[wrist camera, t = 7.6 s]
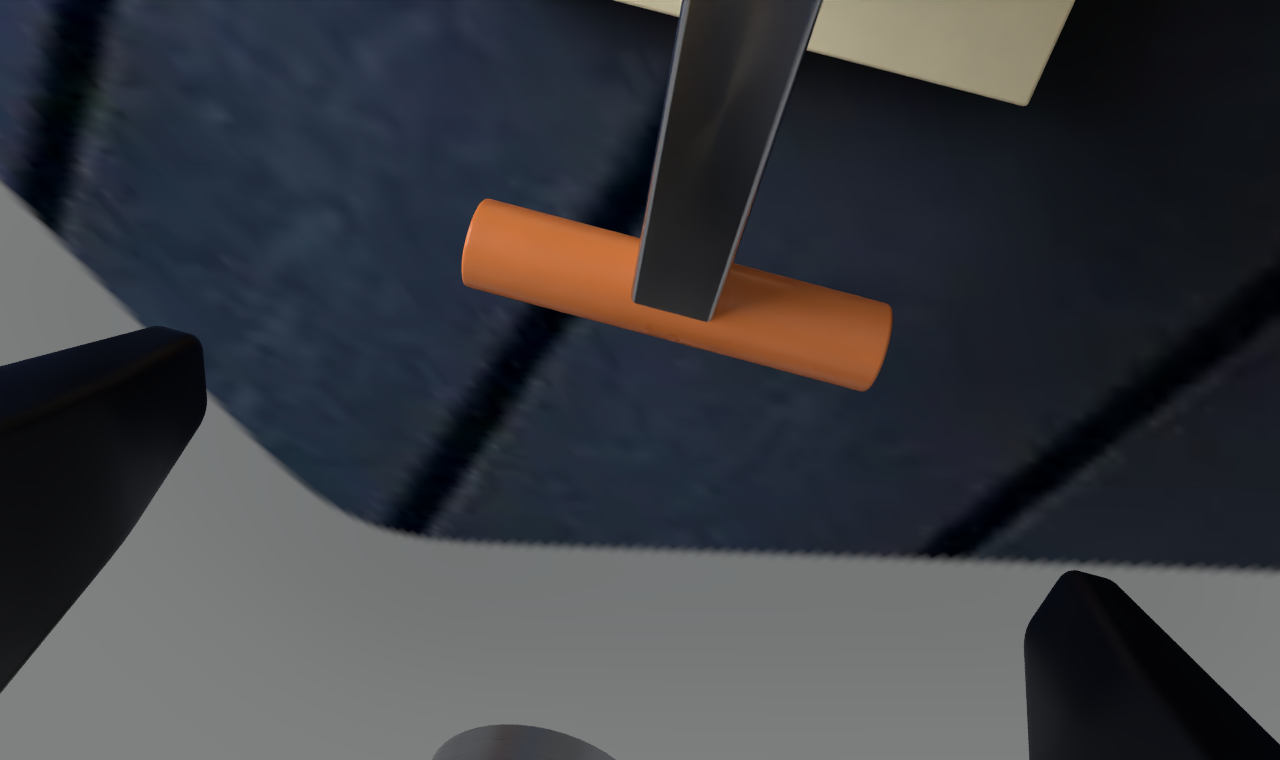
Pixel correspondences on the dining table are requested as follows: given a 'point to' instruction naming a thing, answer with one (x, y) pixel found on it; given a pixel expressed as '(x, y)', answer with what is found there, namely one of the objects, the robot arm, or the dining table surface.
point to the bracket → (938, 39)
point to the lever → (696, 218)
